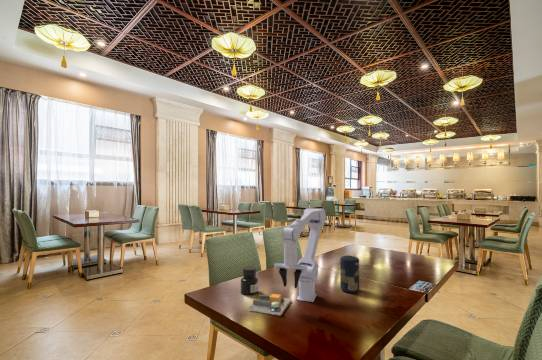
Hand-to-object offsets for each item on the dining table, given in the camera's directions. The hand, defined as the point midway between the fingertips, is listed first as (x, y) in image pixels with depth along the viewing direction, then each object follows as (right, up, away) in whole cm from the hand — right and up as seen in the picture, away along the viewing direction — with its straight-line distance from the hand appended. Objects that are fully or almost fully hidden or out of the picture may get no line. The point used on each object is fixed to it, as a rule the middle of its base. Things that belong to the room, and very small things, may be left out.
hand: (290, 286), depth 116 cm
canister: (+32, -11, +22) cm, 41 cm away
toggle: (-7, -8, +2) cm, 10 cm away
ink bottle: (-20, -11, +19) cm, 29 cm away
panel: (-8, -10, +2) cm, 13 cm away
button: (-7, -6, -4) cm, 10 cm away
